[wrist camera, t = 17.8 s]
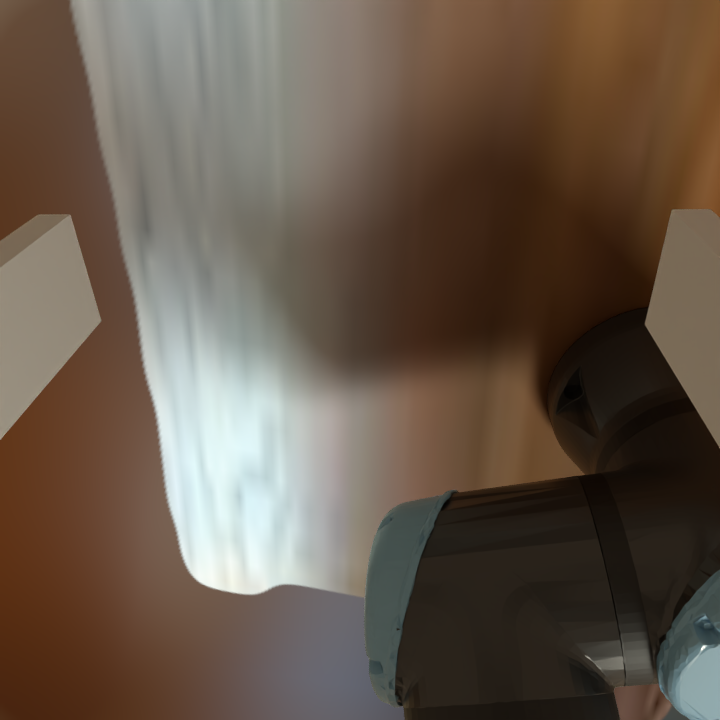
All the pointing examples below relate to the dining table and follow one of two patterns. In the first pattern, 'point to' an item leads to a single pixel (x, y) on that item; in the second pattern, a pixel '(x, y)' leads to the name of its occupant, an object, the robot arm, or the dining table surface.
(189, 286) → the dining table surface
